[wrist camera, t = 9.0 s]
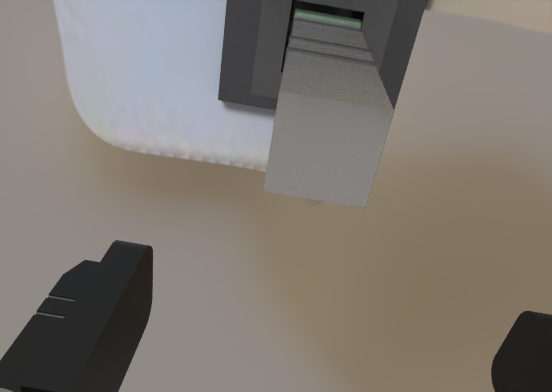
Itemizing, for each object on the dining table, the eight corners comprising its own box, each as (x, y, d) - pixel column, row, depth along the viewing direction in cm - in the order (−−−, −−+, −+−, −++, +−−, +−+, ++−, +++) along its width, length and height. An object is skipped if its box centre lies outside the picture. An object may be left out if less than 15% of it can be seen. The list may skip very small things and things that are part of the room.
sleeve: (444, -68, 35) (474, -67, 28) (386, 125, 43) (400, 162, 36) (238, -105, 35) (218, -112, 28) (220, 96, 43) (201, 128, 36)
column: (358, 17, 31) (399, 107, 16) (344, 79, 33) (367, 212, 18) (296, 6, 31) (275, 86, 16) (286, 68, 33) (259, 193, 18)
